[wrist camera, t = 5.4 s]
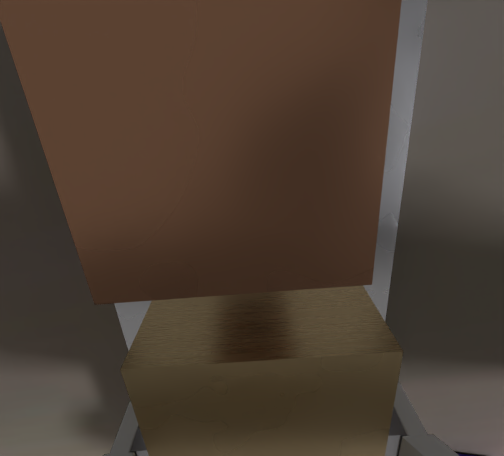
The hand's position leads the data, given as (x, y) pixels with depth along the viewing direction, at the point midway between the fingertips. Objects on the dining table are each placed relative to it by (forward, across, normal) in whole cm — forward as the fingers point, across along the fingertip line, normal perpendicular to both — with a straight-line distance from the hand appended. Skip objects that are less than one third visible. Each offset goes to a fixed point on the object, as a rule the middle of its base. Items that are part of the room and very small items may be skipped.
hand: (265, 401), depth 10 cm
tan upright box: (+1, 0, 0) cm, 1 cm away
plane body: (+5, 0, 0) cm, 5 cm away
